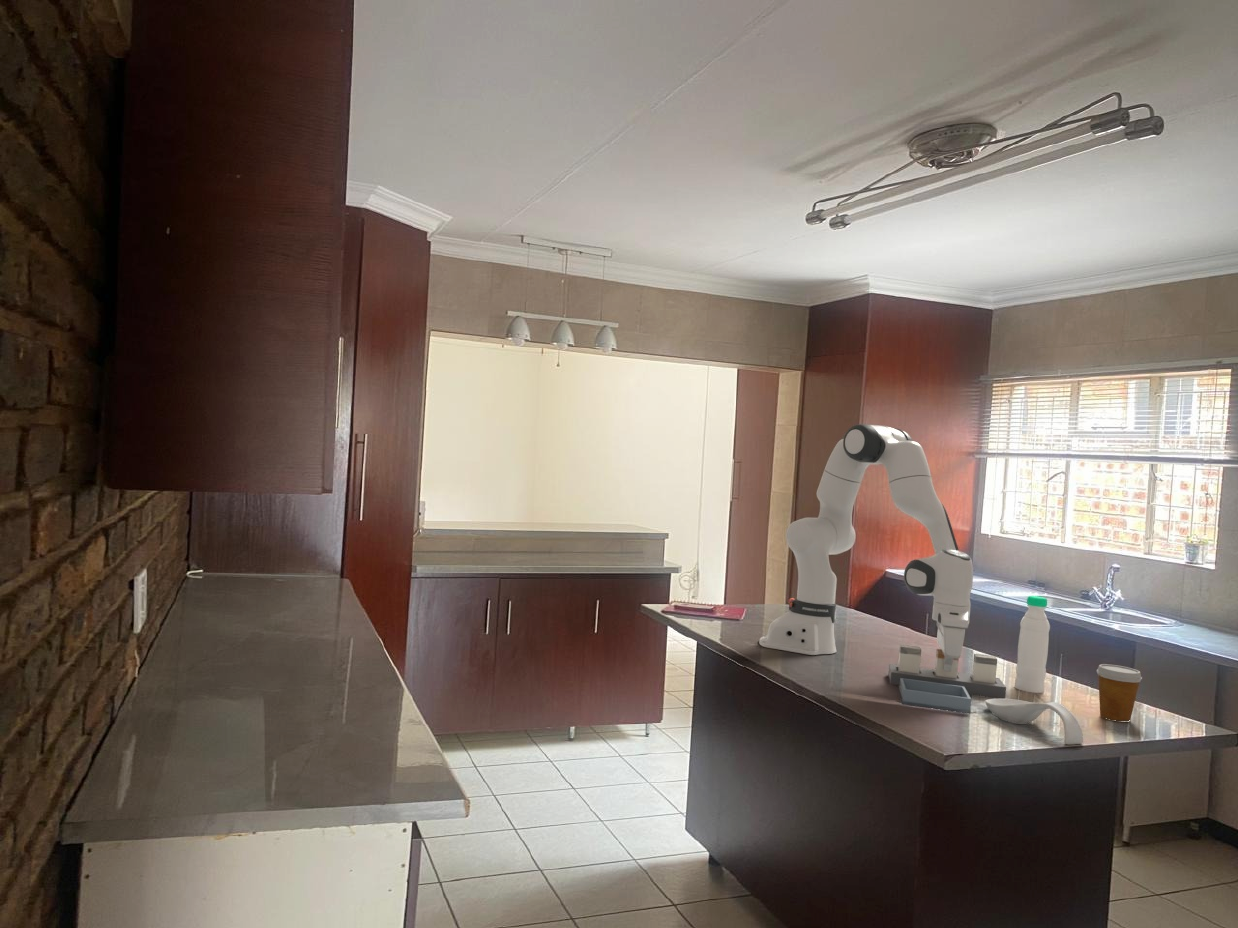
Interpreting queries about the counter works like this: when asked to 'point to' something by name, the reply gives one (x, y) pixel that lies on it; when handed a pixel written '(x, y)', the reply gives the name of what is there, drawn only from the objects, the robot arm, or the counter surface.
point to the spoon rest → (1036, 715)
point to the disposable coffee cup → (1117, 691)
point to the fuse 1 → (909, 658)
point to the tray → (934, 695)
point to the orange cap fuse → (940, 664)
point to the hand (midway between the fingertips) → (946, 668)
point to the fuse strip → (951, 682)
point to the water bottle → (1033, 647)
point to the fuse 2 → (984, 668)
